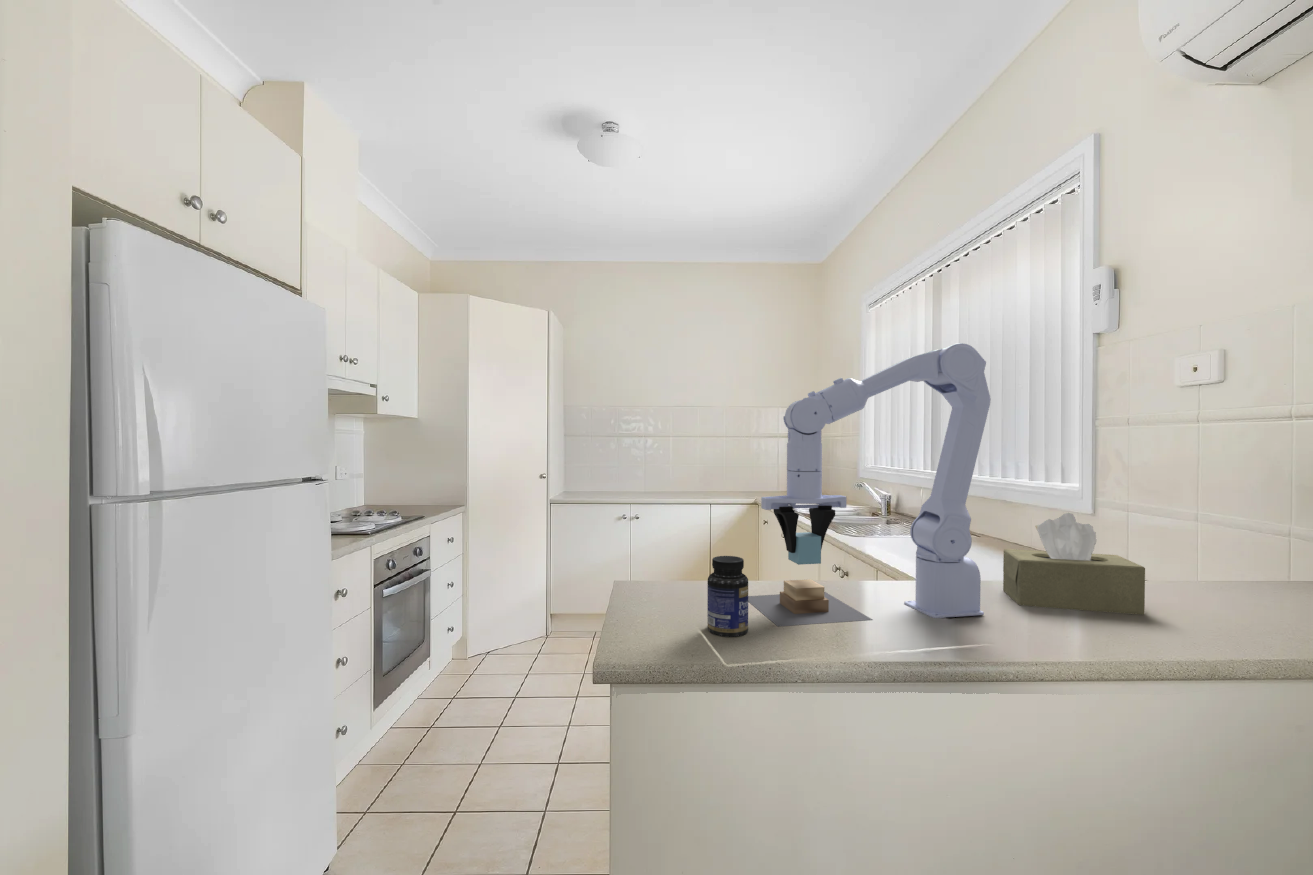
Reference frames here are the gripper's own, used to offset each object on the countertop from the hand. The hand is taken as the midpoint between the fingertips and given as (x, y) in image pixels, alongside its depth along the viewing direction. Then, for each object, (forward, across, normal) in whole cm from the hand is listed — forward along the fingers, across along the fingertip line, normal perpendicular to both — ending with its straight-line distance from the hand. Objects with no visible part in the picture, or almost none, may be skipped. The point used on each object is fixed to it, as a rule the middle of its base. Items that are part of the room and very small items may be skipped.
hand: (803, 551), depth 98 cm
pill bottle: (+10, +16, +8) cm, 21 cm away
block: (+2, 0, 0) cm, 2 cm away
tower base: (+10, 0, 0) cm, 10 cm away
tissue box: (+10, -48, +5) cm, 49 cm away
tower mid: (+8, 0, 0) cm, 8 cm away
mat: (+10, 0, 0) cm, 10 cm away
